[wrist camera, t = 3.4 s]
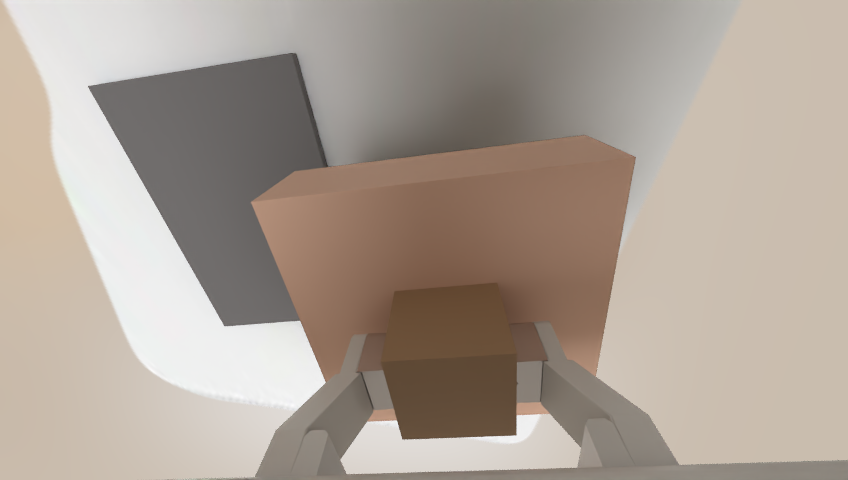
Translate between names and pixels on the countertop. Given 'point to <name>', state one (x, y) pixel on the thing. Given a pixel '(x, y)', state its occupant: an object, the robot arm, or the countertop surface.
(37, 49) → the countertop surface
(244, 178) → the mat
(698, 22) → the countertop surface
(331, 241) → the cover
